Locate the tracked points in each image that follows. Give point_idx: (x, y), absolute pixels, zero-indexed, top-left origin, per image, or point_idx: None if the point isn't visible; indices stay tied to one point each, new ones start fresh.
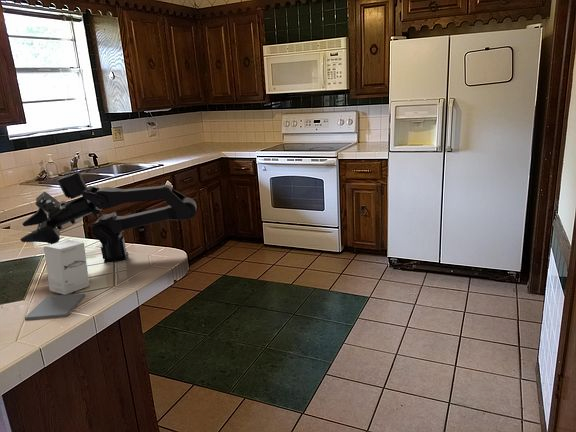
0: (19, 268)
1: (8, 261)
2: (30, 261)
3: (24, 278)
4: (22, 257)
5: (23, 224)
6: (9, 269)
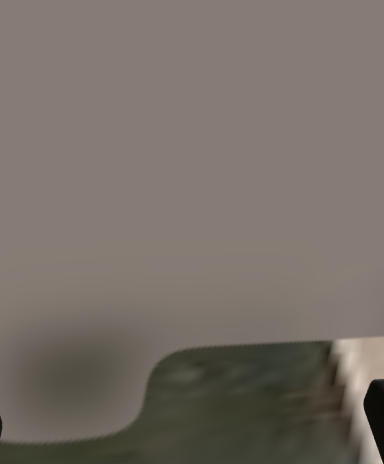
0: (214, 410)
1: (327, 354)
2: (299, 459)
3: (16, 458)
4: None
5: (372, 393)
6: (223, 364)
